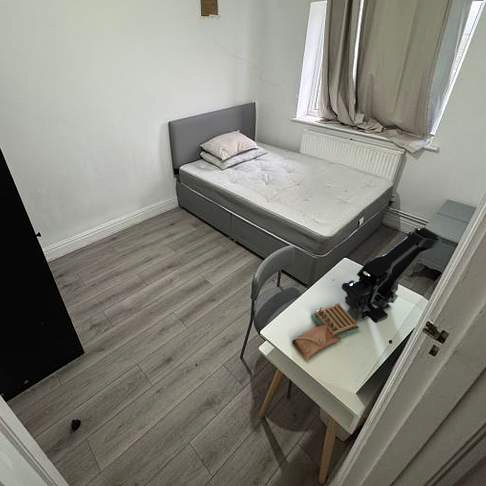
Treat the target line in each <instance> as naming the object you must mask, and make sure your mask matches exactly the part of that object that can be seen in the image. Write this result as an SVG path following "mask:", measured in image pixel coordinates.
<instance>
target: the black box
mask: <svg viewBox="0 0 486 486" xmlns="http://www.w3.org/2000/svg"><path fill="white" fill-rule="evenodd" d="M368 309H369V308H368V307H367V306H365V308H364V309H363V310H362V311H360V312H358V311H357V310H356V311H355V310H352V309H351V308H350V307H349V306H348V310H347V313H348V314H349V315H350V316H351V317H352V318H353V320H354V321H355V322H360V321H362V320H363V319H362V317H363V315H364V311H367V310H368Z"/></svg>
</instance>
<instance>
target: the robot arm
mask: <svg viewBox="0 0 486 486" xmlns="http://www.w3.org/2000/svg"><path fill="white" fill-rule="evenodd" d="M442 241H443V240H442V236H441V235H439V234H437V233H436V232H434V231H433V230H431V229H429V228H427V227H425V226H423V227H416V228H415V227H414V228H413V229H412V231H410V232H408V233H407V234H406V236H405V238H404V239H402V240H401V241H399V243H397V244H396V245H395V246H393V247H392V248H391V249H390V250H389V251H388V252H386V253H385V254H384V255H381V256H376V257H373V258H372V259H371V260H368V261H367V262H365V264H364V265H363V266H362V267H361V268H360V269H359V271H358V272H357V273H356V276H357V277H359V278H358V280H353V279H351V280H348V281H345V282H343V283H342V285H341V290H342V291H344V292H345V294H346V296H345V297H344V302H345V304H346V305H347V306H348V308H349V307H350V308H351V309H352V310H355V311H356V310H357V311H358V312H360V311H362V310H363V309H364V308H365V306H367V307H368V308H369V309H368V310H367V311H364V315H363V317H362V319H361V320H365V319H367V318H369V319H370V320H371V321H372V322H373V323H374V324H377V323H380V322H383V321H385V320H387V319H388V317H389V313H388V312H386V311H385V310H387V309H390V308H391V305H390V304H394V303H395V302H396V300H397V299H398V297H399V295H398V294H397V292H398V290H399V282H400V281H401V279H402V278H403V277H404V276H405V275H406V273H407V272H408V271H409V270H411V268H412V267H413V266H414V265H415V264H416V263H417V261H418V260H419V259H420V258H421V256H422V255H423V254H426V253H429V252H432V251H434V249H437V248H438V247H439V246H440V245H441V244H442Z"/></svg>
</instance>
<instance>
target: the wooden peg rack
mask: <svg viewBox="0 0 486 486" xmlns="http://www.w3.org/2000/svg"><path fill="white" fill-rule="evenodd" d="M311 318H312V320H313V321H314V322H315V324H316V326H318V325H320V324H322V323H323V324H325V325H326V324H327V323H326V322H327V321H329V325H328V324H327V329H328V330H329V331H330V333H331V336H333V335H334V334H336V336H333V337H331V338H332V339H333V338H340V339H341V338H344V337H346V336H350V335H351V334H354V333H356V332H358V331H359V329H360V327H359V326H358V323H357V321H355V320H354V319H353V318H352V317H351V316H350V314H349V313H348V311H347V310H345V308H344V307H343V306H342V305H341V304H340V303H339V302H338V303H335V304H333V305H330V306H327V307H325V308H322V307H320V308H319V310H317V311H315V312H313V313H311ZM330 325H331V327H332V330H331V328H330ZM333 331H334V332H333Z"/></svg>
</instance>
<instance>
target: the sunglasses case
mask: <svg viewBox="0 0 486 486" xmlns="http://www.w3.org/2000/svg"><path fill="white" fill-rule="evenodd" d="M326 323H327V324H328V325H329V321H327V322H326ZM327 324H326V325H325V324H323V323H322V324H320V325H315V326H314V327H313V328H310V329H309V330H307V331H306V332H304V333H302V334H300V335H299V336H297V337H296V338H294V339H292V342H291V343H292V346H293V348H294V349H295V350H296V352H297V353H298V354H299V355H300V356H301V357H302V358H303V359H304V360H305V361H309V360H311V358H312V357H314V356H315V355H317V354H318V353H320V352H321V351H323V350H326V349H327V348H329V347H330V346H332V345H334V344H335V345H336V344H337V343H339V342H341V341H342V340H341V338H333V339H332V338H331V337H333V336H336V334H334V335H333V336H331V333H330V331H329V330H328V329H327ZM330 328H331V330H332V327H331V325H330ZM333 332H334V331H333Z"/></svg>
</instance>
